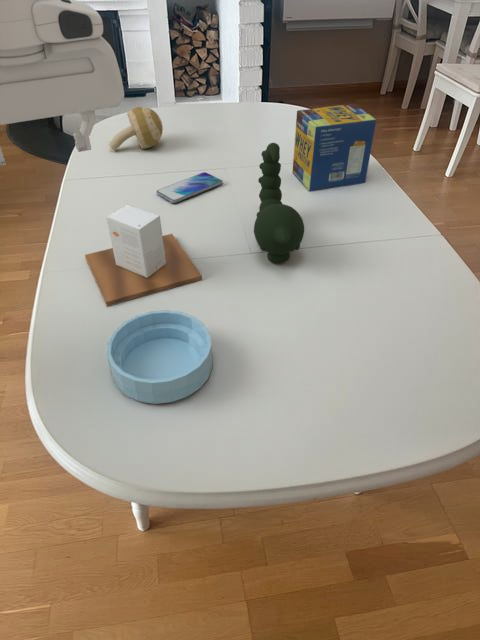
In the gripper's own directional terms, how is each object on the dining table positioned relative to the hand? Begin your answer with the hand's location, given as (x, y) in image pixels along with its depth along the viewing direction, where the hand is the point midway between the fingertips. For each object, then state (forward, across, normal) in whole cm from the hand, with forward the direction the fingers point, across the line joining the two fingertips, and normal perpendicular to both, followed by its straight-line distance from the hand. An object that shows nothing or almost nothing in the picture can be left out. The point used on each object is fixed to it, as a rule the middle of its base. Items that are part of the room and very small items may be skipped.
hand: (42, 156), depth 59 cm
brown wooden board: (+33, +14, +20) cm, 41 cm away
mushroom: (+33, +30, +75) cm, 87 cm away
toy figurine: (+33, +41, +17) cm, 55 cm away
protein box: (+33, +67, +37) cm, 83 cm away
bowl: (+33, +9, -6) cm, 35 cm away
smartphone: (+33, +34, +46) cm, 66 cm away
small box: (+32, +14, +20) cm, 40 cm away
